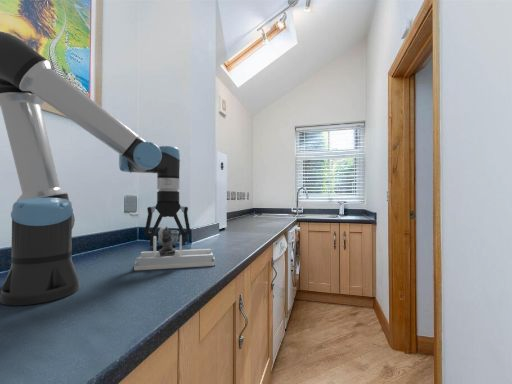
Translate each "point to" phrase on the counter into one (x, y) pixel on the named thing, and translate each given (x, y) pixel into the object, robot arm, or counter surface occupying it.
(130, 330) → the counter surface
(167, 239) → the stone tower figurine
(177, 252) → the rail board
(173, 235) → the mug
